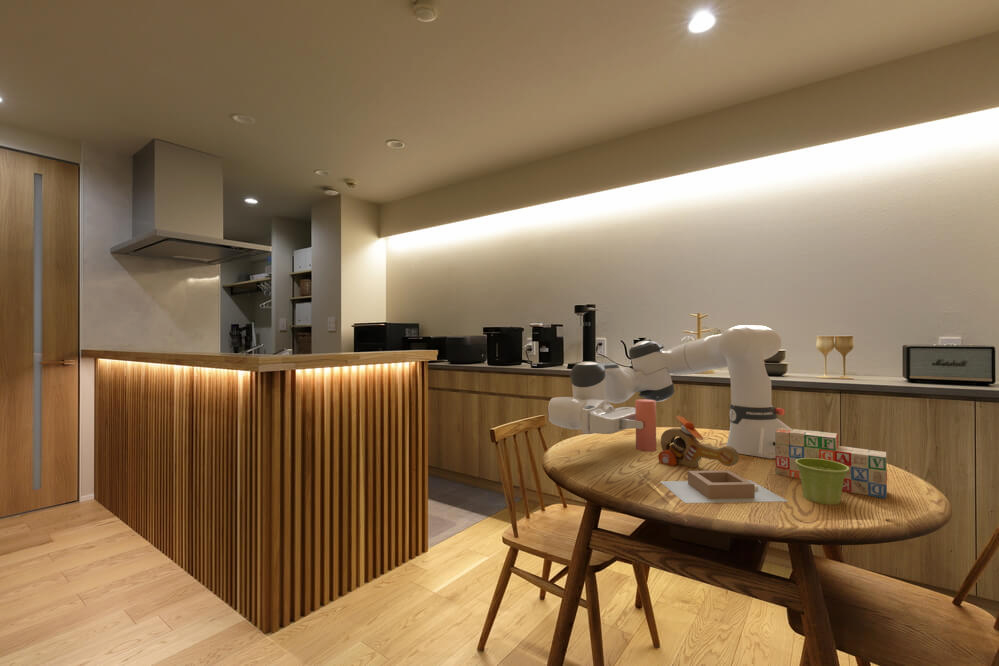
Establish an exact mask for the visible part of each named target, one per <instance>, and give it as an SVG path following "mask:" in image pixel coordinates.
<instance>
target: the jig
mask: <svg viewBox="0 0 999 666" xmlns="http://www.w3.org/2000/svg"><path fill="white" fill-rule="evenodd" d="M659 482H660V483H661V484H662V485H663V486H664V487H665V488H667V489H668V490H669V491H670V492H671V493H672V494H674V495H675V497H677V498H678V499H679V500H680V501H682V502H683V503H684V504H711V503H713V504H716V503H717V504H718V503H719V504H720V503H723V504H724V503H725V504H726V503H764V502H765V503H768V502H769V503H771V502H772V503H773V502H778V503H780V502H781V503H782V502H788V500H787V499H785V498H783V497H782V496H780V495H778V494H777V493H774V492H772V491H771V490H769V489H767V488H765V487H763V486H762V485H760V484H758V483H756V482H755V481H753V480H750V479H746V478H743V477H742V476H740V475H739V474H737V473H735V472H734V471H731V470H729V469H727V470H726V469H725V470H722V469H721V470H719V469H718V470H688V471H687V480H666V481H665V480H661V481H659ZM755 485H757V486H758V491H755Z"/></svg>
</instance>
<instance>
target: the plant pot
mask: <svg viewBox="0 0 999 666" xmlns="http://www.w3.org/2000/svg"><path fill="white" fill-rule="evenodd" d="M795 462H796V464H797V465H798V469H799V471H800V476H801V478H800V480H801V487H802V489H801V490H802V494H803V498H804V499H806V500H808V501H811V502H813V503H816V504H817V503H818V504H822V505H838V504H841V498H842V497H841V496H842V492H843V491H842V487H843V482H844V478H845V477H846V473H847V472H848V471H849V467H848V466H846V465H844V464H841V463H838V462H834V461H830V460H825V459H816V458H800V459H796V460H795Z"/></svg>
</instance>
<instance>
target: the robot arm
mask: <svg viewBox="0 0 999 666" xmlns="http://www.w3.org/2000/svg"><path fill="white" fill-rule="evenodd" d="M781 348H782V339H781V336H780V334H779V333H778V332H776V331H775V330H774V329H772V328H770V327H767V326H765V325H752V324H751V325H744V324H743V325H741V324H738V325H735V326H732V327H729V328H727V329H725V330H724V331H722V332H721V333H719V334H713V335H708V336H706V337H701V338H697V339H694V340H690V341H687V342H685V343H681V344H679V345H676V346H674V347H672V348H670V349H667V350H663V349H665V345H661V344H659V343H658V342H656V341H655V340H654V341H653V340H641V341H637V342H636V343H634V344H633V345H632V346H631V347H630V348H629V350H628V355H629V359H630V360H631V365H632V368H631V367H628V366H619V365H618V364H617V363H615V362H595V361H581V362H578V363H575V365H574V366H573V367H572V369H571V370H570V372H569V377H570V382H571V389H572V396H558V397H552V398H551V399H550V400H549V402H548V405H547V416H548V420H549V422H550V423H551V424H553V425H555V426H558V427H560V428H564V429H570V430H581V432H582V434H584V435H592V434H593V435H594V434H597V435H599V434H601V435H612V434H615V433H619V432H622V431H624V430H628V429H629V430H630V429H636V428H637V429H642V428H644V427H645V422H644V421H641V420H637V421H636V409H635V407H632V406H631V407H630V406H621V407H617V408H615V407H614V406H613V405H612V404H621V403H624V402H626V401H628V400H629V399H630V398H631V397H632V396H634V395H635V393H637V392H638V396H639V397H641V398H643V399H648V400H655V401H656V403H658V402H664V401H667V400H668V399H669V398H671V397H672V396H673V395H674V394H675V386H674V385H675V384H674V383H673V380H672V375H674V376H687V375H695V374H700V373H704V372H708V371H709V372H710V371H713V370H717V369H722V368H727V369H728V373H729V374H728V375H729V379H730V403H729V422H730V425H729V433H728V437H727V442H726V445H725V446H730V447H733V448H734V449H735V450H736V451H737V452H738V454H740V455H746V456H747V455H748V456H753V457H760V458H764V459H776V455H775V431H776V430H778V429H779V428H790V429H792V428H791V427H790V426H788V425H787V424H786V423H784V422H783V421H781V420H780V419H779V418H778V415H780V416H784V415H785V413H786V411H785V409H784V408H781V407H774V406H773V404H772V379H771V378H770V377H769V374H768V372H767V369H766V366H765V361H766V360H767V359H770V358H772V357H773V356H775V355H776V354H778V353H779V351H780V349H781ZM611 403H612V404H611Z"/></svg>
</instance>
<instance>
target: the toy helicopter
mask: <svg viewBox="0 0 999 666" xmlns="http://www.w3.org/2000/svg"><path fill="white" fill-rule="evenodd" d="M675 419H677V420H678V421H679V422H680V423H681V426H680V427H672V428H669V429H667V430H665V431H664V432H662V434H661V437H660V445H661V449H662V451H660V453H659V454H658V457H657V459H658V463H660V464H663V465H668V466H676V465H677V464H678V465H681V466H682V465H683V466H686V467H689V468H690V467H691V468H698V467H699V461H700V460H701V458H704V459H709V460H714V461H715V460H716V461H718V462H719V463H721V465H723V466H725V467H731V466H735V465H736V464H738V463H739V459H740V456H739V453H738V452H737V451H736V450H735V449H734V448H733V447H730V446H726V445H724V446H722V447H716V446H713V445H710V444H709V445H708V444H705V443H701V442H700V441H699V440H704V436H702V435H701V434H700V432H699V431H698V430H697V429H696V428H695V424H694V423H693V422H691V421H688V420H687V419H686V418H685V417H684V416H680V415H675Z"/></svg>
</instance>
